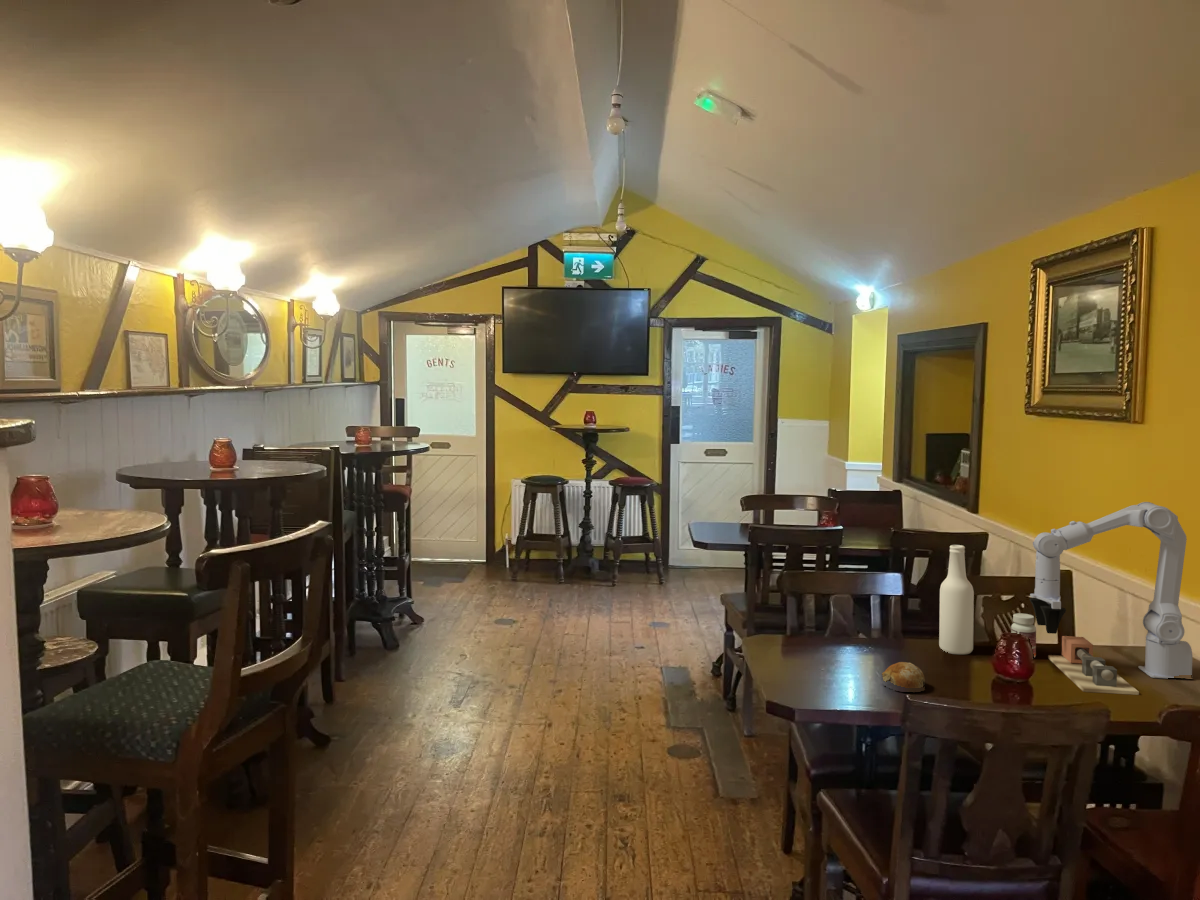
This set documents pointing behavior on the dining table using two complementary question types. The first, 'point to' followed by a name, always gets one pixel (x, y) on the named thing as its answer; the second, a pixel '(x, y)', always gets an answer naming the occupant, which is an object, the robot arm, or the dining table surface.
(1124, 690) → the shaft rig
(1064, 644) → the terracotta arch block
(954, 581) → the alcohol
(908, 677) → the bread roll
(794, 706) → the dining table surface
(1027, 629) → the pill bottle
